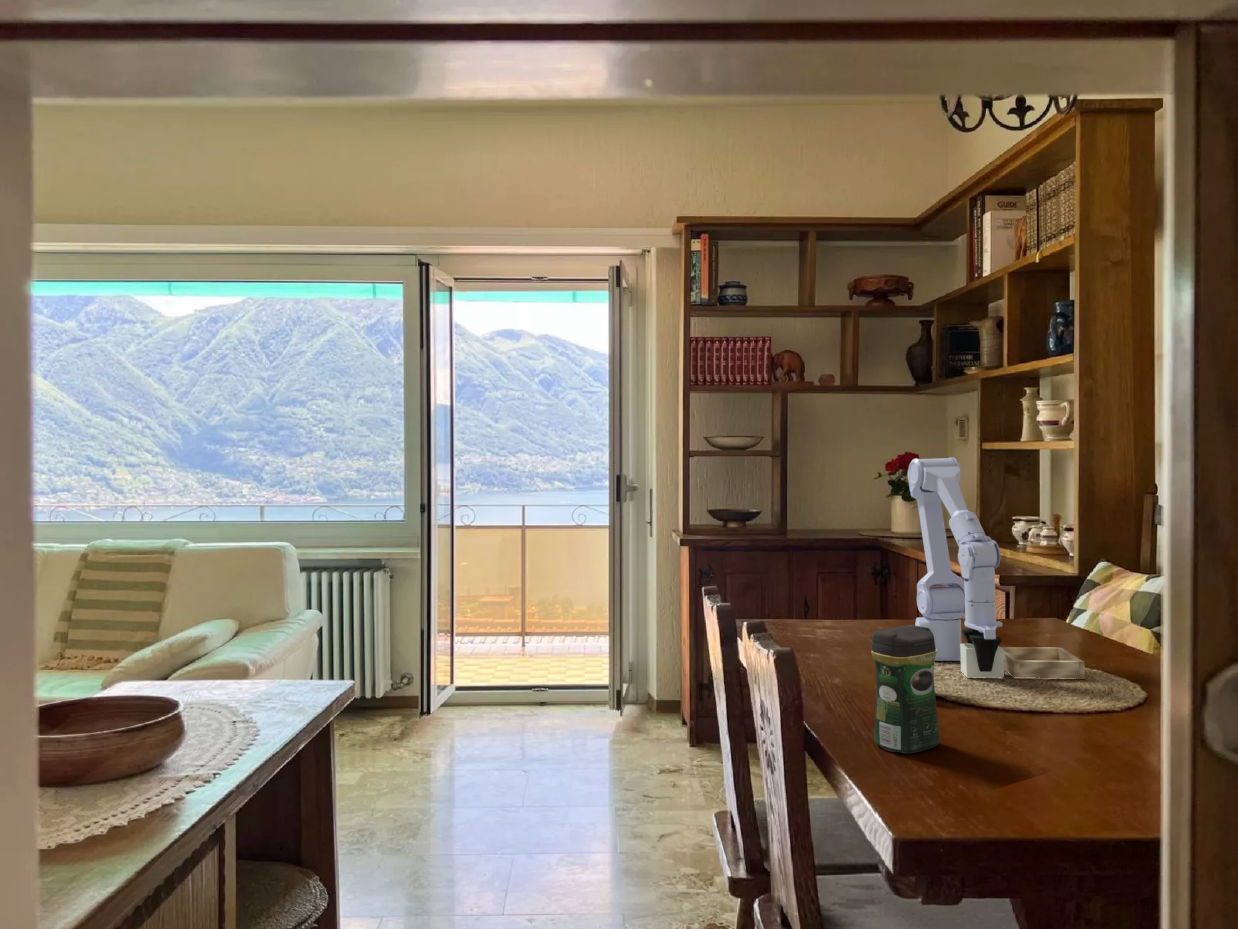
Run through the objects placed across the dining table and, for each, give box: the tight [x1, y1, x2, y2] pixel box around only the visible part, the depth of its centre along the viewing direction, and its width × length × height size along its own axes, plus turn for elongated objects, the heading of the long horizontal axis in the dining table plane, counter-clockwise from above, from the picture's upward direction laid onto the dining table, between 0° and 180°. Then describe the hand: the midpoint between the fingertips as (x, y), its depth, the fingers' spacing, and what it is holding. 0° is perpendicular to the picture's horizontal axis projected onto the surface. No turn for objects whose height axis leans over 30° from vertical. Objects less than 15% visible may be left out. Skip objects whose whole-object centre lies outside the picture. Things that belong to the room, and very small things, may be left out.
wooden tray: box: [1000, 646, 1086, 679], centre depth 178 cm, size 13×13×4 cm
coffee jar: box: [870, 624, 941, 755], centre depth 136 cm, size 10×8×19 cm
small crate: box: [960, 643, 1005, 678], centre depth 176 cm, size 7×5×6 cm
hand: (981, 667), depth 176 cm, fingers closed on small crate, 5 cm apart
